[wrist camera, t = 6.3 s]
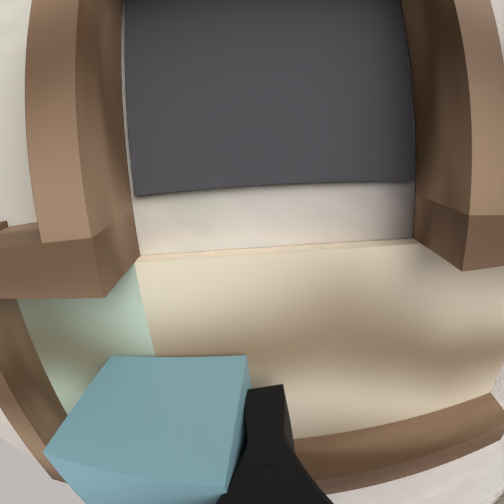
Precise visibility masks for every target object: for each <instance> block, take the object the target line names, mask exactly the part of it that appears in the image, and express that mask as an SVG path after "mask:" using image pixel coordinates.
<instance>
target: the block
mask: <svg viewBox="0 0 504 504" xmlns="http://www.w3.org/2000/svg"><path fill="white" fill-rule="evenodd" d="M248 389H252V384H251V379H250V373H249V367H248V361H247V355H241V356H214V357H137V356H110V358H109V359H108V360H107V362H106V363H105V365H104V366H103V367H102V369H101V370H100V371H99V373H98V374H97V375H96V377H95V378H94V379H93V381H92V382H91V384H90V385H89V386H88V388H87V389H86V390H85V392H84V393H83V395H82V396H81V397H80V399H79V400H78V402H77V403H76V404H75V406H74V407H73V409H72V410H71V411H70V413H69V414H68V416H67V417H66V419H65V420H64V421H63V423H62V424H61V426H60V427H59V429H58V430H57V432H56V433H55V434H54V436H53V437H52V439H51V440H50V442H49V443H48V445H47V446H46V448H45V449H44V451H43V454H44V455H45V456H46V457H47V459H48V460H49V461H50V463H51V464H52V465H53V466H54V468H55V469H56V470H57V471H58V473H59V474H60V475H61V476H62V477H63V479H64V480H65V481H66V482H67V483H68V484H69V485H70V486H71V488H72V489H73V490H74V491H75V492H76V493H77V494H78V496H79V497H80V498H81V499H82V500H83V501H84V502H85V503H86V504H215V503H216V502H217V500H218V499H219V497H220V496H221V495H222V494H224V493H227V490H228V486H229V483H230V480H231V477H232V475H233V473H234V472H235V470H236V468H237V466H238V463H239V461H240V459H241V457H242V454H243V452H244V450H245V447H246V445H247V443H248V435H247V425H246V415H245V398H246V394H247V391H248Z"/></svg>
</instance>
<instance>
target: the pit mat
mask: <svg viewBox="0 0 504 504" xmlns="http://www.w3.org/2000/svg"><path fill="white" fill-rule="evenodd" d="M125 85H126V106H127V122H128V136H129V148H130V158H131V168H132V177H133V186H134V194H135V196H141V195H149V194H159V193H168V192H178V191H188V190H199V189H211V188H223V187H237V186H252V185H269V184H288V183H312V182H348V181H414V138H413V114H412V98H411V86H410V76H409V66H408V58H407V50H406V43H405V36H404V30H403V24H402V18H401V13H400V8H399V3H398V0H126V7H125Z"/></svg>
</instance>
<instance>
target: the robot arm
mask: <svg viewBox="0 0 504 504" xmlns="http://www.w3.org/2000/svg"><path fill="white" fill-rule="evenodd" d="M245 415H246V425H247V435H248V443H247V445H246V447H245V450H244V452H243V454H242V457H241V459H240V461H239V463H238V466H237V468H236V470H235V472H234V473H233V475H232V477H231V480H230V483H229V486H228V490H227V493H224V494H222V495H221V496H220V497H219V499H218V500H217V502H216V503H215V504H333V502H332V501H331V500H330V499H329V498H328V497H327V496H326V495H325V494H324V492H323V491H322V490H321V489H320V488H319V486H318V485H317V484H316V483H315V481H314V480H313V479H312V477H311V476H310V475H309V473H308V472H307V471H306V469H305V468H304V466H303V465H302V463H301V462H300V460H299V459H298V457H297V455H296V454H295V448H294V441H293V434H292V428H291V421H290V416H289V411H288V406H287V401H286V396H285V391H284V386H283V384H278V385H272V386H266V387H260V388H253V389H248V391H247V394H246V398H245Z"/></svg>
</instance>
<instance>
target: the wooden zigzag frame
mask: <svg viewBox="0 0 504 504" xmlns="http://www.w3.org/2000/svg"><path fill="white" fill-rule="evenodd" d="M400 2H401V7H402V12H403V17H404V23H405V29H406V35H407V41H408V48H409V56H410V64H411V73H412V83H413V95H414V109H415V130H416V194H415V215H414V230H413V238H409V239H392V240H376V241H360V242H344V243H329V244H313V245H297V246H282V247H266V248H251V249H236V250H221V251H206V252H191V253H176V254H161V255H146V256H140V253H139V247H138V241H137V235H136V228H135V222H134V215H133V208H132V200H131V193H130V185H129V176H128V167H127V157H126V146H125V134H124V121H123V104H122V80H121V17H122V0H32V4H31V11H30V18H29V27H28V37H27V49H26V68H25V116H26V136H27V149H28V159H29V169H30V177H31V185H32V192H33V198H34V204H35V210H36V216H37V221H38V222H37V223H30V224H24V225H18V226H12V227H7V222H6V221H2V222H0V408H1V409H2V411H3V413H4V414H5V416H6V417H7V419H8V420H9V422H10V423H11V425H12V426H13V428H14V429H15V431H16V432H17V434H18V435H19V436H20V438H21V439H22V441H23V442H24V443H25V445H26V446H27V448H28V449H29V450H30V452H31V453H32V454H33V455H34V457H35V458H36V459H37V461H38V462H39V463H40V464H41V465H42V467H43V468H44V469H45V470H46V472H47V473H48V474H49V475H50V476H51V478H52V479H55V480H58V481H61V482H65V483H67V482H66V481H65V480H64V479H63V477H62V476H61V475H60V474H59V473H58V471H57V470H56V469H55V468H54V466H53V465H52V464H51V463H50V461H49V460H48V459H47V457H46V456H45V455H44V454H43V451H44V449H45V448H46V446H47V445H48V443H49V442H50V440H51V439H52V437H53V436H54V434H55V433H56V432H57V430H58V429H59V427H60V426H61V424H62V423H63V421H64V420H65V419H66V417H67V416H68V414H69V413H70V411H71V410H72V409H73V407H74V406H75V404H76V403H77V402H78V400H79V399H80V397H81V396H82V395H83V393H84V392H85V390H86V389H87V388H88V386H89V385H90V384H91V382H92V381H93V379H94V378H95V377H96V375H97V374H98V373H99V371H100V370H101V369H102V367H103V366H104V365H105V363H106V362H107V360H108V359H109V358H110V356H137V357H214V356H241V355H247V361H248V367H249V373H250V379H251V384H252V389H253V388H260V387H266V386H272V385H278V384H283V386H284V391H285V396H286V401H287V406H288V411H289V416H290V421H291V428H292V434H293V441H294V448H295V454H296V455H297V457H298V459H299V460H300V462H301V463H302V465H303V466H304V468H305V469H306V471H307V472H308V473H309V475H310V476H311V477H312V479H313V480H314V481H315V483H316V484H317V485H318V486H319V488H320V489H321V490H322V491H323V492H324V494H325V495H327V494H333V493H339V492H344V491H349V490H354V489H359V488H364V487H368V486H373V485H377V484H381V483H385V482H389V481H392V480H396V479H400V478H403V477H406V476H410V475H413V474H416V473H419V472H422V471H425V470H428V469H431V468H434V467H437V466H440V465H443V464H445V463H448V462H450V461H453V460H456V459H458V458H461V457H463V456H465V455H468V454H470V453H472V452H475V451H477V450H479V449H482V448H484V447H486V446H488V445H490V444H492V443H494V442H496V441H498V440H500V439H501V437H502V436H503V434H504V410H503V408H502V407H501V406H500V404H499V403H498V402H497V401H496V399H495V398H494V397H493V395H492V394H491V393H490V391H491V389H492V387H493V385H494V383H495V380H496V378H497V376H498V373H499V371H500V368H501V366H502V363H503V361H504V63H503V56H502V51H501V45H500V40H499V35H498V30H497V26H496V21H495V17H494V13H493V9H492V5H491V2H490V0H400Z"/></svg>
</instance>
